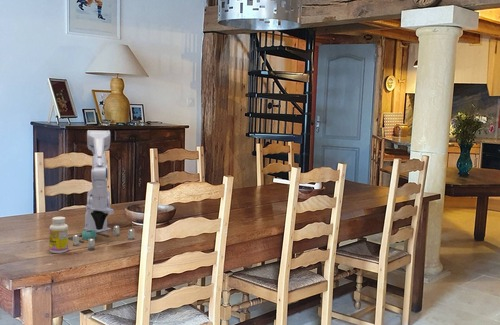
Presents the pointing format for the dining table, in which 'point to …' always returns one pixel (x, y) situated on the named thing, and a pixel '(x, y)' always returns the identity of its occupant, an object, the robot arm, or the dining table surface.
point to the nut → (88, 234)
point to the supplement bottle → (58, 235)
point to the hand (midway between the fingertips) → (99, 229)
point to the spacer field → (92, 241)
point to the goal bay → (83, 241)
